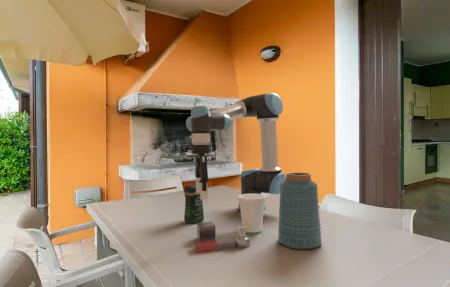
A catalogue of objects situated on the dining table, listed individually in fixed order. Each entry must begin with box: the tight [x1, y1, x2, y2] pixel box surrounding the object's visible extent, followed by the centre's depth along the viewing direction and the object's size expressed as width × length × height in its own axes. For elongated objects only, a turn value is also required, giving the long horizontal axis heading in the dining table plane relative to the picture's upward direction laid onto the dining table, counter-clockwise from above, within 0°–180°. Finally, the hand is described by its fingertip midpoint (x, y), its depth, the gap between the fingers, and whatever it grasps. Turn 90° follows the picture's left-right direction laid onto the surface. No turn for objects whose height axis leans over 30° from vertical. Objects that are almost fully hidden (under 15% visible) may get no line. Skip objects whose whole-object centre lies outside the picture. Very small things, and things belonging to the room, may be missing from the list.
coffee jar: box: [183, 183, 205, 224], centre depth 136 cm, size 10×8×19 cm
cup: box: [237, 193, 267, 235], centre depth 120 cm, size 12×12×15 cm
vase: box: [277, 171, 323, 251], centre depth 105 cm, size 16×16×27 cm
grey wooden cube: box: [196, 220, 217, 242], centre depth 110 cm, size 6×6×6 cm
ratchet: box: [193, 225, 251, 254], centre depth 102 cm, size 21×6×7 cm, turn 104°
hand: (201, 195), depth 111 cm, fingers open, 13 cm apart
